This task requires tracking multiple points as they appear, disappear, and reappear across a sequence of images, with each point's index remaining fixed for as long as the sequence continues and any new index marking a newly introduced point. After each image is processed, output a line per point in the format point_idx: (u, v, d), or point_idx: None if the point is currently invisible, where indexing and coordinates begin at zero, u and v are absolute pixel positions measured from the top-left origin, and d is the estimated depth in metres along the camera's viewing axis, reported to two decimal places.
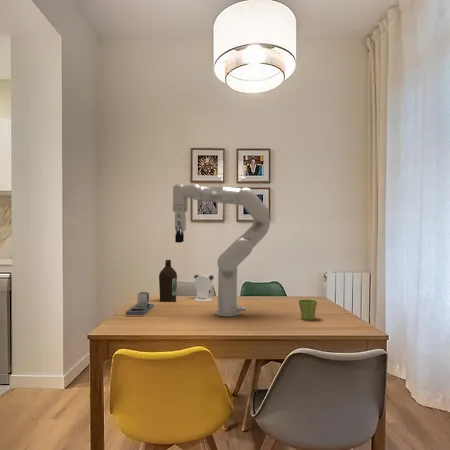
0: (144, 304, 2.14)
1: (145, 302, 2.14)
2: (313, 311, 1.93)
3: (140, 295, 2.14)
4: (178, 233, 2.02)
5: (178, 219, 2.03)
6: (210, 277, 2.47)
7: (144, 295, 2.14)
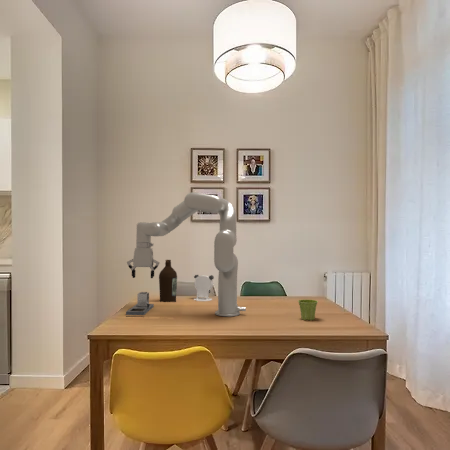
0: (144, 304, 2.14)
1: (145, 302, 2.14)
2: (313, 311, 1.93)
3: (140, 295, 2.14)
4: (154, 269, 2.16)
5: (152, 256, 2.16)
6: (210, 277, 2.47)
7: (144, 295, 2.14)
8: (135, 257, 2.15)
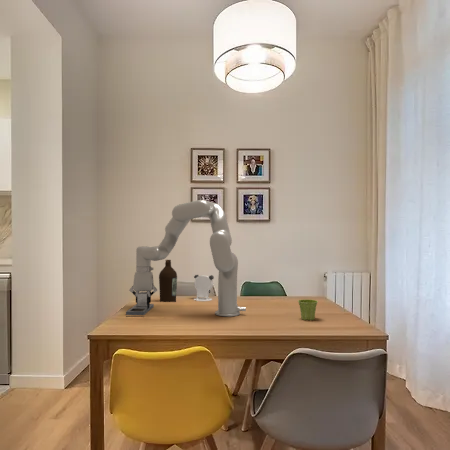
0: (144, 304, 2.14)
1: (145, 302, 2.14)
2: (313, 311, 1.93)
3: (140, 295, 2.14)
4: None
5: (152, 280, 2.16)
6: (210, 277, 2.47)
7: (144, 295, 2.14)
8: (135, 281, 2.14)
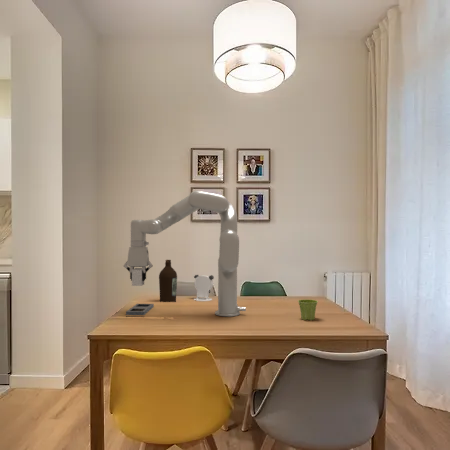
0: (139, 280, 2.02)
1: (140, 278, 2.02)
2: (313, 311, 1.93)
3: (135, 271, 2.03)
4: None
5: (147, 255, 2.05)
6: (210, 277, 2.47)
7: (139, 271, 2.02)
8: (129, 257, 2.03)
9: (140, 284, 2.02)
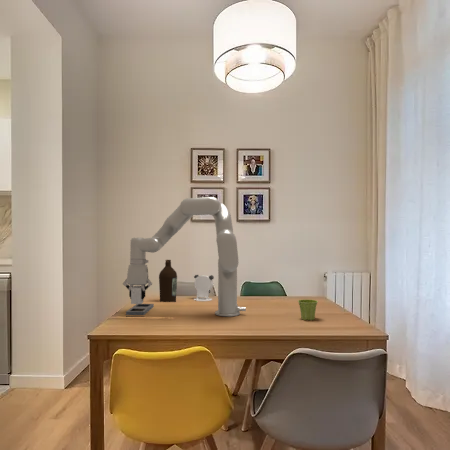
0: (138, 298, 2.02)
1: (139, 296, 2.02)
2: (313, 311, 1.93)
3: (134, 289, 2.02)
4: None
5: (147, 273, 2.04)
6: (210, 277, 2.47)
7: (138, 289, 2.02)
8: (129, 275, 2.02)
9: (139, 302, 2.02)
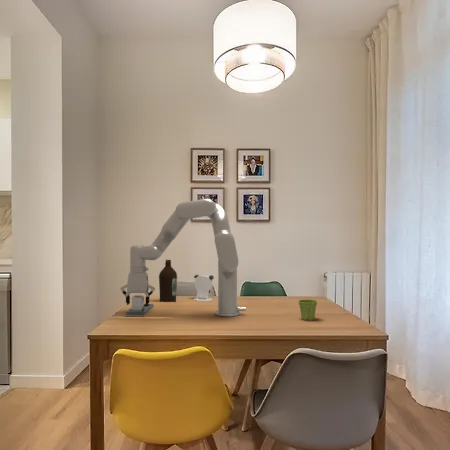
0: (139, 308, 2.02)
1: (140, 306, 2.02)
2: (313, 311, 1.93)
3: (134, 299, 2.02)
4: None
5: (147, 281, 2.04)
6: (210, 277, 2.47)
7: (139, 299, 2.02)
8: (129, 282, 2.02)
9: None
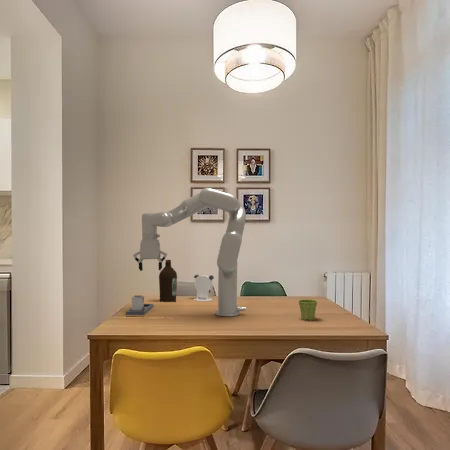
0: (139, 308, 2.02)
1: (140, 306, 2.02)
2: (313, 311, 1.93)
3: (134, 299, 2.02)
4: (162, 261, 2.10)
5: (159, 247, 2.09)
6: (210, 277, 2.47)
7: (139, 299, 2.02)
8: (142, 249, 2.08)
9: None
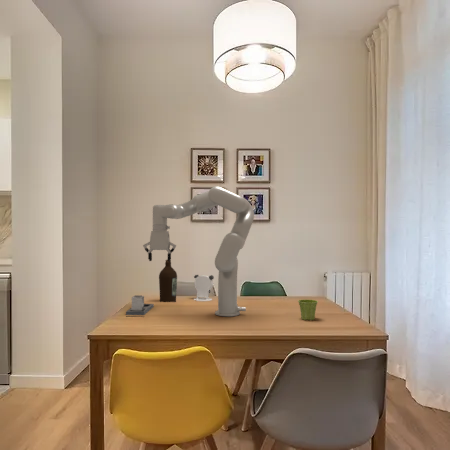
0: (139, 308, 2.02)
1: (140, 306, 2.02)
2: (313, 311, 1.93)
3: (134, 299, 2.02)
4: (171, 252, 2.14)
5: (169, 239, 2.14)
6: (210, 277, 2.47)
7: (139, 299, 2.02)
8: (152, 240, 2.12)
9: None
